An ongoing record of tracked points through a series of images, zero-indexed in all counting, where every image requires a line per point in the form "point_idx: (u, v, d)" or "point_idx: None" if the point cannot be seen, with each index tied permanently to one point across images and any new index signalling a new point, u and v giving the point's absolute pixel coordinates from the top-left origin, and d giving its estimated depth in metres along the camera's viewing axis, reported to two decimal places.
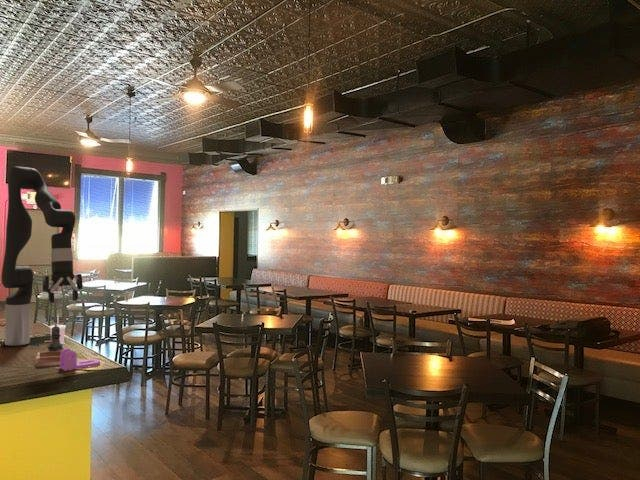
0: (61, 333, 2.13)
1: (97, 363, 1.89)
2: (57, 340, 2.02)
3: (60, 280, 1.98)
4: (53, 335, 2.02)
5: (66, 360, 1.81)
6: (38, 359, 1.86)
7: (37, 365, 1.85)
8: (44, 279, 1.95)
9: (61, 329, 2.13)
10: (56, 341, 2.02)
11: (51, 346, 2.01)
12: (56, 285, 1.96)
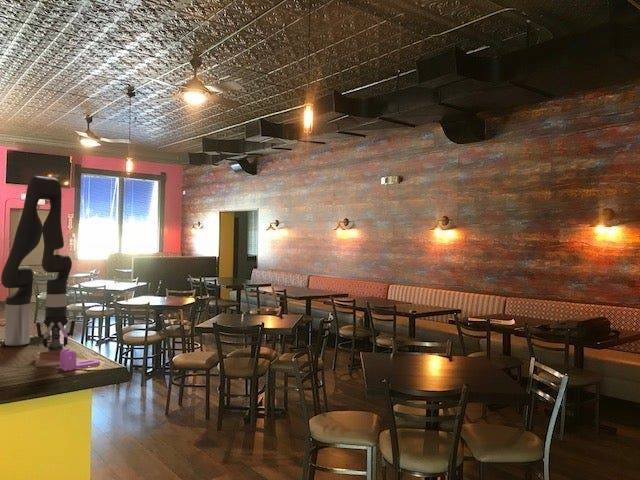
0: (61, 333, 2.13)
1: (97, 363, 1.89)
2: (57, 340, 2.02)
3: (51, 325, 2.01)
4: (53, 335, 2.02)
5: (66, 360, 1.81)
6: (38, 359, 1.86)
7: (37, 365, 1.85)
8: (36, 325, 2.00)
9: None
10: (56, 341, 2.02)
11: (51, 346, 2.01)
12: (48, 331, 2.00)
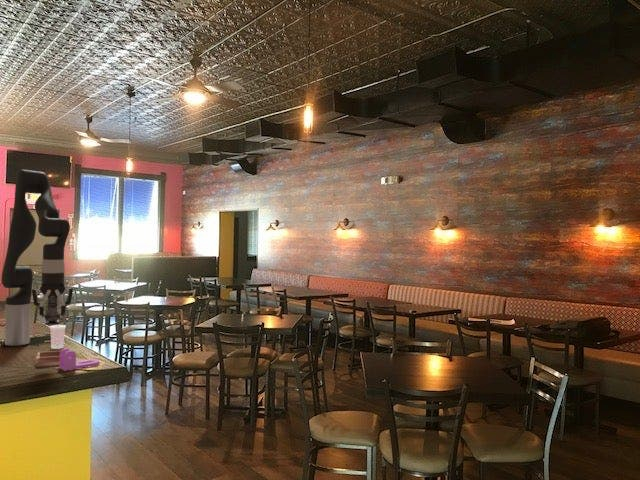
0: (61, 333, 2.13)
1: (96, 363, 1.89)
2: (54, 309, 1.91)
3: (48, 293, 1.89)
4: (50, 303, 1.90)
5: (65, 360, 1.81)
6: (38, 359, 1.86)
7: (37, 365, 1.85)
8: (32, 292, 1.88)
9: (61, 329, 2.13)
10: (53, 310, 1.91)
11: (48, 315, 1.89)
12: (44, 298, 1.89)
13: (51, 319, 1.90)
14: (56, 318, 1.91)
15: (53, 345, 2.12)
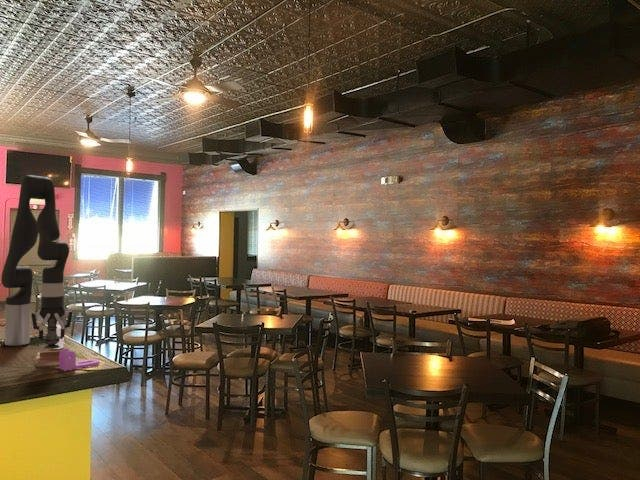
0: None
1: (96, 363, 1.89)
2: (54, 332, 1.91)
3: (47, 316, 1.89)
4: (49, 327, 1.90)
5: (65, 360, 1.81)
6: (38, 359, 1.86)
7: (37, 365, 1.85)
8: None
9: None
10: (53, 333, 1.91)
11: (47, 338, 1.89)
12: (44, 322, 1.89)
13: (51, 343, 1.90)
14: (56, 341, 1.91)
15: None
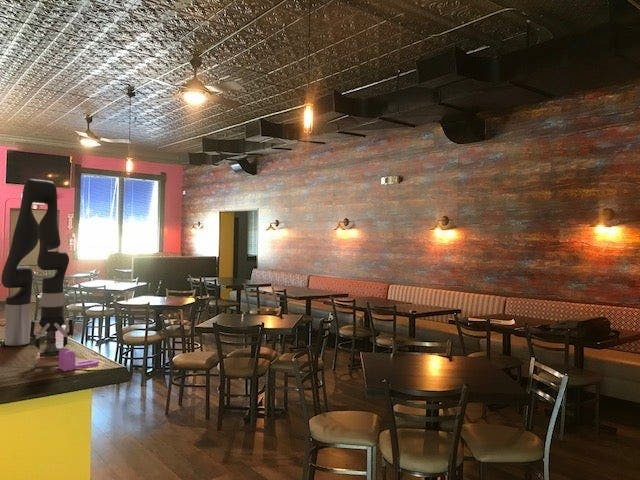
0: (61, 333, 2.13)
1: (96, 363, 1.89)
2: (53, 344, 1.91)
3: (46, 326, 1.89)
4: (49, 339, 1.90)
5: (65, 360, 1.81)
6: (38, 359, 1.86)
7: (37, 365, 1.85)
8: None
9: None
10: (52, 345, 1.91)
11: (47, 351, 1.90)
12: (42, 331, 1.89)
13: (50, 355, 1.90)
14: (55, 354, 1.91)
15: None
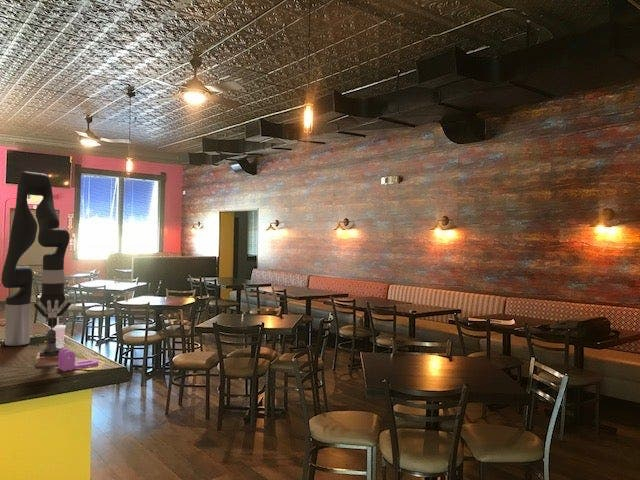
0: (61, 333, 2.13)
1: (95, 363, 1.89)
2: (53, 344, 1.91)
3: (49, 303, 1.90)
4: (49, 339, 1.91)
5: (64, 360, 1.81)
6: (38, 359, 1.86)
7: (37, 365, 1.85)
8: (35, 307, 1.89)
9: (61, 329, 2.13)
10: (52, 345, 1.91)
11: (47, 351, 1.90)
12: (49, 309, 1.90)
13: (50, 355, 1.90)
14: (55, 354, 1.91)
15: None
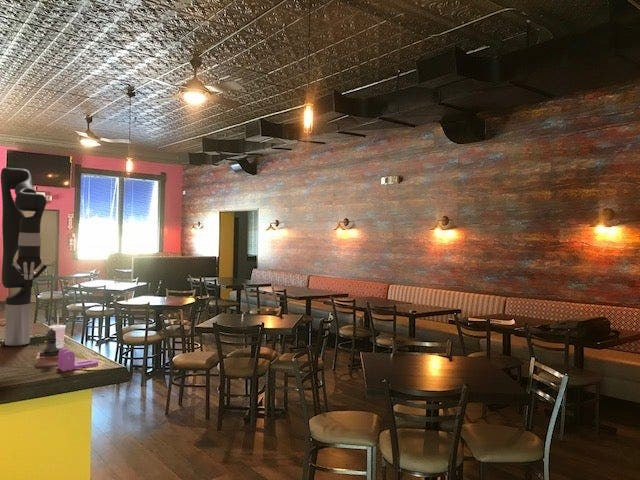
0: (61, 333, 2.13)
1: (95, 363, 1.89)
2: (53, 344, 1.91)
3: (25, 265, 1.96)
4: (49, 339, 1.91)
5: (64, 360, 1.81)
6: (38, 359, 1.86)
7: (37, 365, 1.85)
8: (12, 268, 1.96)
9: (61, 329, 2.13)
10: (52, 345, 1.91)
11: (47, 351, 1.90)
12: (25, 271, 1.97)
13: (50, 355, 1.90)
14: (55, 354, 1.91)
15: None
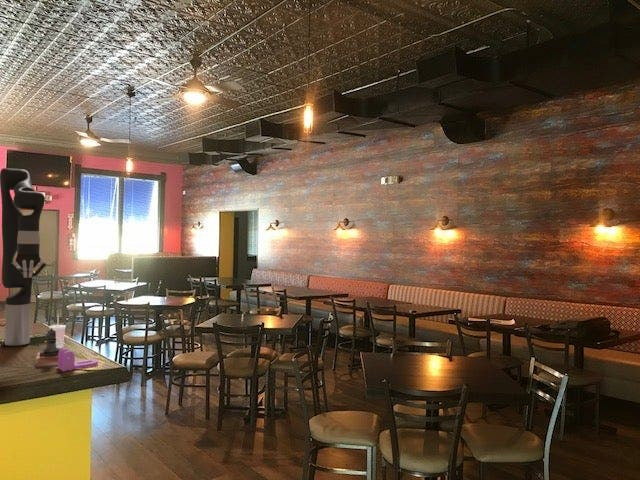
0: (61, 333, 2.13)
1: (95, 363, 1.89)
2: (53, 344, 1.91)
3: (24, 263, 1.97)
4: (49, 339, 1.91)
5: (64, 360, 1.81)
6: (38, 359, 1.86)
7: (37, 365, 1.85)
8: (11, 267, 1.96)
9: (61, 329, 2.13)
10: (52, 345, 1.91)
11: (47, 351, 1.90)
12: (24, 269, 1.97)
13: (50, 355, 1.90)
14: (55, 354, 1.91)
15: None
